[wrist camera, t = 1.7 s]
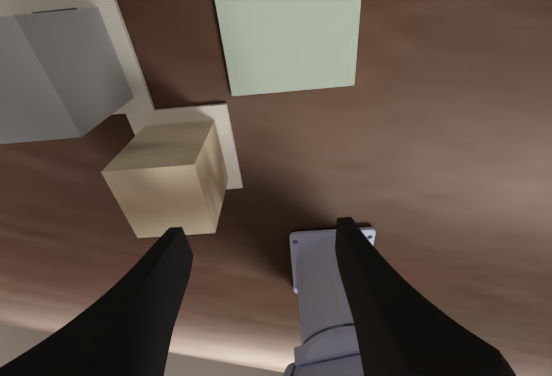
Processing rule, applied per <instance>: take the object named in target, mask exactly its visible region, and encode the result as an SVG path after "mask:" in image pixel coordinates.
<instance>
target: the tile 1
mask: <svg viewBox="0 0 552 376" xmlns="http://www.w3.org/2000/svg"><path fill="white" fill-rule="evenodd" d="M97 7H98V8H99V11H100V13H101V16H102V18H103V21H104V23H105V26H106V29H107V31H108V34H109V36H110V39H111V41H112V44H113V46H114V49H115V51H116V54H117V56H118V59H119V61H120V64H121V67H122V69H123V72H124V74H125V77H126V79H127V82H128V84H129V87H130V89H131V92H132V94H133V97H134V98H133V99H131V100H130V101H129V102H127V103H126V104H125V105H123V106H122V107H121V108H119V109H118V110H117V111H116V112H114V113H113V114H125V113H136V112H147V111H154V110H155V107H154V104H153V101H152V98H151V95H150V93H149V90H148V87H147V84H146V81H145V79H144V76H143V73H142V70H141V67H140V65H139V62H138V59H137V56H136V53H135V51H134V48H133V45H132V42H131V39H130V37H129V34H128V31H127V28H126V25H125V23H124V20H123V17H122V14H121V11H120V9H119V6H118V3H117V0H0V17H3V16H12V15H23V14H33V13H44V12H54V11H65V10H76V9H86V8H97ZM113 114H112V115H113Z"/></svg>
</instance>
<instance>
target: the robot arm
mask: <svg viewBox="0 0 552 376" xmlns="http://www.w3.org/2000/svg"><path fill="white" fill-rule="evenodd" d="M375 233H376V232H375V229H374V228H373V227H361V228H359V227H358V226H357V224H356V223H355V221H354V220H353V219H352V218H351V217H344V218H337V227H336V229H330V230H315V231H299V232H292V233H290V235H289V239H290V251H291V263H292V274H293V286H294V292H295V293H298V302H299V316H300V329H301V342H302V345H301V346H298V347H295V348H294V356H295V362H294V363H291V364H289V365H288V366H287V368H286V370H285V372H284V375H283V376H516V374H515V373H514V371H513V370H512V368H511V367H510V365H509V364H508V362H507V361H506V360H505V358H504V357H503V356H502V354H501V353H500V351H499V350H497V349H496V348H494V347H493V346H491V345H490V344H488V343H487V342H485V341H484V340H482V339H480V338H479V337H477V336H476V335H474V334H473V333H471V332H470V331H468V330H467V329H465V328H464V327H462V326H461V325H460V324H458V323H457V322H455V321H454V320H453V319H451V318H450V317H448V316H447V315H446V314H445V313H443V312H442V311H441V310H440V309H438V308H437V307H436V306H435V305H433V304H432V303H431V302H429V301H428V300H427V299H426V298H424V297H423V296H422V295H421V294H420V293H419V292H418V291H416V290H415V289H414V288H413V287H412V286H411V285H410V284H409V283H408V282H407V281H405V280H404V279H403V278H402V277H401V276H400V275H399V274H398V273H397V272H396V271H395V270H394V269H393V268H392V267H391V266H390V264H389V263H388V262H387V261H386V260H385V259H384V258H383V257H382V256H381V255H380V253H379V252H378V251H377V250H376V249H375V247H374V246H373V244H374V239H375ZM369 235H370V236H369ZM293 240H296V241H293ZM192 260H193V254H192V251H191V248H190V246H189V243H188V241H187V238H186V235H185V233H184V230H183V228H182V227H169V228H168V230H167V231H166V232H165V233H164V234H163V235H162V236H161V237H160V238H159V239H158V241H157V242H156V243H155V244H154V245H153V246H152V247H151V248H150V249H149V251H148V252H147V253H146V254H145V255H144V256H143V257H142V258H141V259H140V260H139V261H138V262H137V264H136V265H135V266H134V267H133V268H132V269H131V270H130V271H129V272H128V273H127V274H126V275H125V276H124V277H123V278H122V279H121V280H120V281H119V282H117V283H116V284H115V285H114V286H113V287H112V288H111V289H110V290H109V291H108V292H106V293H105V294H104V295H103V296H102V297H101V298H99V299H98V300H97V301H96V302H95V303H94V304H92V305H91V306H90V307H88V308H87V309H86V310H85V311H83V312H82V313H81V314H79V315H78V316H77V317H76V318H74V319H73V320H72V321H70V322H69V323H68V324H66V325H65V326H64V327H62V328H61V329H59V330H58V331H57V332H55V333H54V334H52V335H51V336H50V337H48V338H46V339H45V340H43V341H42V342H40V343H39V344H37V345H36V346H34V347H33V348H31V349H30V350H28V351H27V352H25V353H23V354H22V355H20V356H19V357H17V358H15V359H14V360H12V361H10V362H9V363H7V364H6V365H4V366H2V367H1V368H0V376H163V375H164V371H165V365H166V360H167V355H168V350H169V346H170V341H171V336H172V332H173V328H174V325H175V321H176V318H177V315H178V312H179V309H180V305H181V302H182V299H183V296H184V293H185V290H186V286H187V283H188V280H189V277H190V272H191V266H192Z"/></svg>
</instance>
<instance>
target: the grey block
mask: <svg viewBox="0 0 552 376" xmlns="http://www.w3.org/2000/svg"><path fill="white" fill-rule="evenodd" d="M133 98H134V97H133V94H132V92H131V89H130V87H129V84H128V82H127V79H126V77H125V74H124V72H123V69H122V67H121V64H120V61H119V59H118V56H117V54H116V51H115V49H114V46H113V44H112V41H111V39H110V36H109V34H108V31H107V29H106V26H105V23H104V21H103V18H102V16H101V13H100V11H99V8H98V7H97V8H86V9H76V10H65V11H54V12H44V13H33V14H23V15H12V16H3V17H0V144H8V143H20V142H31V141H43V140H55V139H67V138H78V137H83V136H84V135H85V134H87V133H88V132H89V131H90V130H92V129H93V128H94V127H96V126H97V125H98V124H100V123H101V122H102V121H104V120H105V119H106V118H108V117H109V116H110V115H112V114H113V113H114V112H116V111H117V110H118V109H119V108H121V107H122V106H123V105H125V104H126V103H127V102H129V101H130V100H131V99H133Z"/></svg>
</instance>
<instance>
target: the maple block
mask: <svg viewBox="0 0 552 376" xmlns="http://www.w3.org/2000/svg"><path fill="white" fill-rule="evenodd" d="M101 173H102V175H103V177H104V178H105V180H106V182H107V184H108V186H109V187H110V189H111V191H112V193H113V195H114V196H115V198H116V200H117V202H118V204H119V205H120V207H121V209H122V211H123V213H124V214H125V216H126V218H127V220H128V222H129V223H130V225H131V227H132V229H133V231H134V232H135V234H136V236H137V238H147V237H161V236H162V235H163V234H164V233H165V232H166V231H167V230H168V228H169V227H182V228H183V230H184V233H185V235H192V234H208V233H215V232H216V228H217V224H218V220H219V216H220V211H221V207H222V203H223V199H224V195H225V191H226V187H227V183H228V175H227V171H226V166H225V162H224V158H223V153H222V149H221V145H220V140H219V136H218V132H217V127H216V123H215V120H209V121H197V122H186V123H174V124H162V125H151V126H145V127H144V128H143V129H142V130H141V131H140V132H139V133H138V134H137V135H136V136H135V137H134V138H133V139H132V140H131V141H130V142H129V143H128V144H127V145H126V146H125V147H124V148H123V149H122V150H121V152H120V153H119V154H118V155H117V156H116V157H115V158H114V159H113V160H112V161H111V162H110V163H109V164H108V165H107V166H106V167H105V168H104V169H103V170H102V171H101Z"/></svg>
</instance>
